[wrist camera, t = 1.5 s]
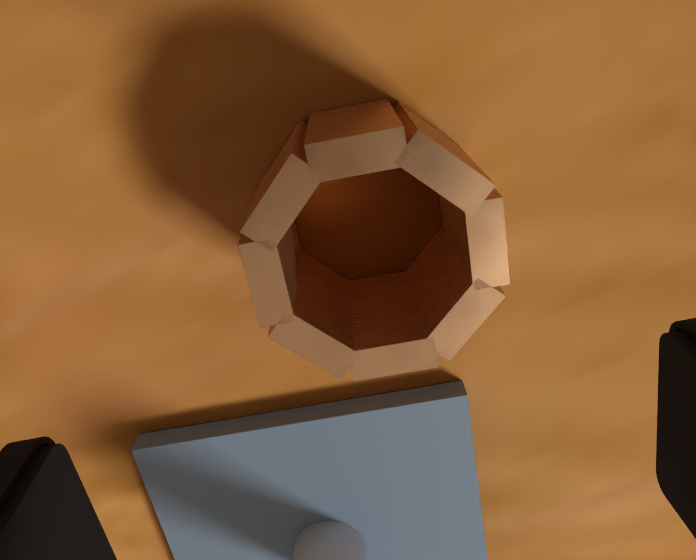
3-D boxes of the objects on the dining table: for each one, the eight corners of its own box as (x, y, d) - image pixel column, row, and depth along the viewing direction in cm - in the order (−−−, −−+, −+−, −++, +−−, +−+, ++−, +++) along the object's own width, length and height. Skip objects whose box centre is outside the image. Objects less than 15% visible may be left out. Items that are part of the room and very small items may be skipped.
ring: (457, 85, 20) (495, 108, 15) (478, 283, 22) (515, 354, 18) (241, 126, 20) (215, 161, 15) (288, 316, 23) (278, 394, 18)
